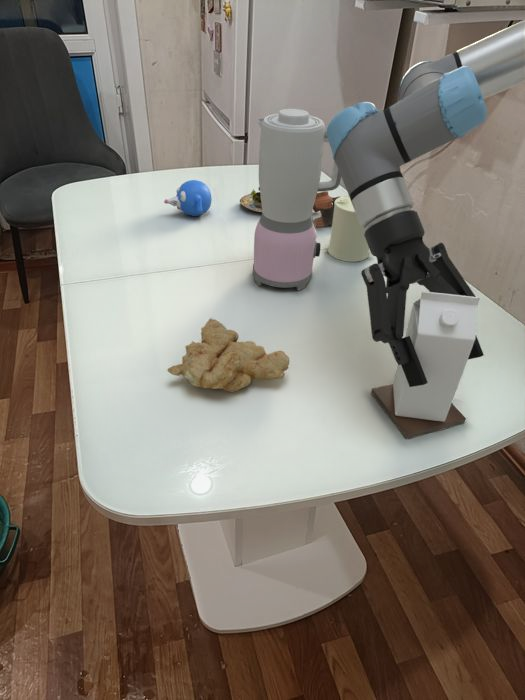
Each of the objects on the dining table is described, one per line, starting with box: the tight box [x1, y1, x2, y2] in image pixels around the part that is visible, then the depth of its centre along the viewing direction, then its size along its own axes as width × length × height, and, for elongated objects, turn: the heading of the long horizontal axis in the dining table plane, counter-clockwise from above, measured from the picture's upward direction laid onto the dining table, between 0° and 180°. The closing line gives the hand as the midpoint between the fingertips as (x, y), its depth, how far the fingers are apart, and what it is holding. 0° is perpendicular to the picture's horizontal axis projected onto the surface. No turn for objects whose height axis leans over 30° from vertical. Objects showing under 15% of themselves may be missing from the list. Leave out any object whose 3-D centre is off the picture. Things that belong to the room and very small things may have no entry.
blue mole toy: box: [163, 179, 213, 217], centre depth 126 cm, size 12×12×8 cm
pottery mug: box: [312, 191, 340, 229], centre depth 128 cm, size 12×10×8 cm
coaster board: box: [370, 383, 467, 440], centre depth 77 cm, size 10×10×1 cm
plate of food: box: [239, 186, 262, 213], centre depth 132 cm, size 12×12×8 cm
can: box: [327, 195, 370, 263], centre depth 112 cm, size 9×9×12 cm
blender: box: [252, 108, 342, 291], centre depth 96 cm, size 16×12×32 cm
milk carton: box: [392, 290, 481, 422], centre depth 71 cm, size 7×7×19 cm
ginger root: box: [167, 318, 290, 393], centre depth 79 cm, size 16×16×8 cm
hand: (447, 371), depth 69 cm, fingers open, 10 cm apart
